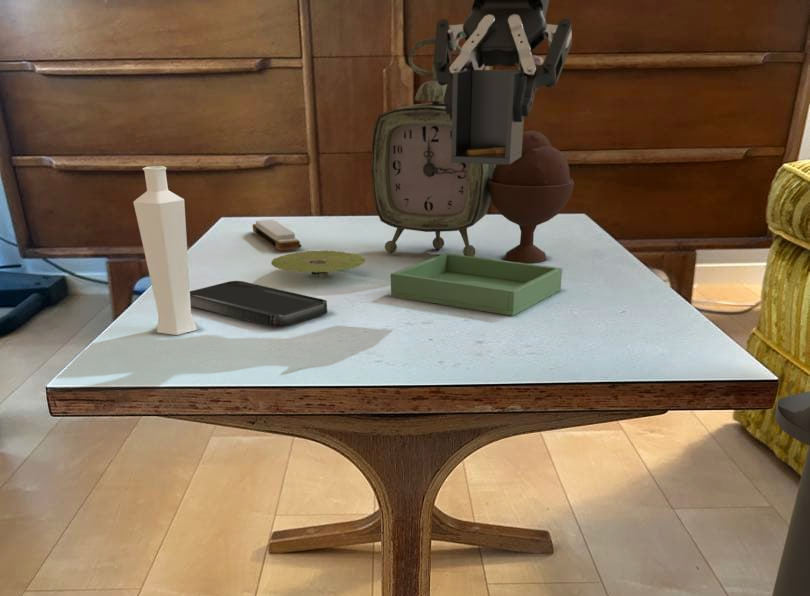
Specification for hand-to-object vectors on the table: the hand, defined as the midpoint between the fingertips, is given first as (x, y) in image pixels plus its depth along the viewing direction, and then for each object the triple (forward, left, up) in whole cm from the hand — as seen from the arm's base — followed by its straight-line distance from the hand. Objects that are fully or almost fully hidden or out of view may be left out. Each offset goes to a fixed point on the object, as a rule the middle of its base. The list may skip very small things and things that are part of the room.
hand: (485, 114), depth 86 cm
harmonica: (+40, -14, -19) cm, 46 cm away
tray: (+2, -4, -19) cm, 19 cm away
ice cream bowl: (+5, -23, -19) cm, 30 cm away
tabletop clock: (+17, -20, -19) cm, 32 cm away
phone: (+19, +14, -19) cm, 30 cm away
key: (+1, -2, -4) cm, 4 cm away
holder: (+1, -2, -4) cm, 5 cm away
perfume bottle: (+21, +24, -19) cm, 37 cm away
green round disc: (+22, -1, -19) cm, 29 cm away
